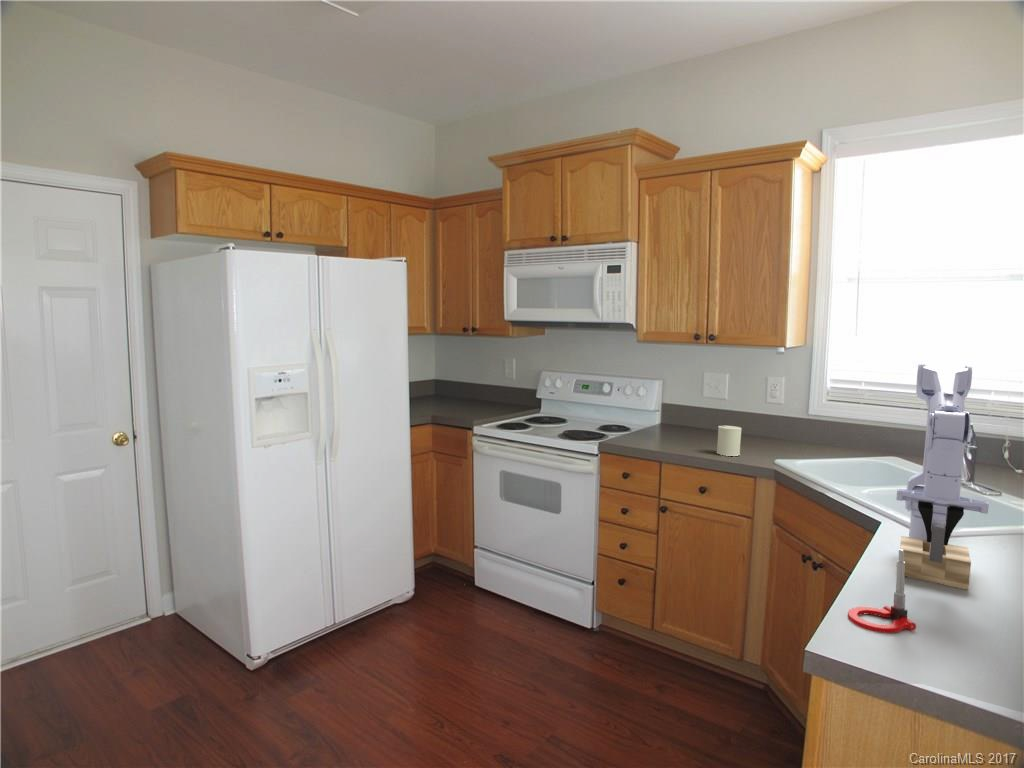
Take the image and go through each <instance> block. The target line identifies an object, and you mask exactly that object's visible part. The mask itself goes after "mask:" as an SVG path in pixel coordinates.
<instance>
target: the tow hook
mask: <svg viewBox="0 0 1024 768" xmlns="http://www.w3.org/2000/svg"><path fill="white" fill-rule="evenodd" d="M895 577H896V578H895V579H896V580H895V581H896V582H895V592H894V594H893V605H890V607H889V606H888V605H884V607H882V608H877V607H871V606H856V607H851V608H850V609H849V610H848V611H847V618H848V620H849V621H850V622H851V623H853V624H854V625H856V626H858V627H859V628H862V627H863V629H865V630H869V631H873V632H876V631H877V633H887V634H888V633H889V634H891V633H893V634H894V633H899V632H901V631H903V630H905V629H906V630H908V631H911V630H913V631H915V630H916V628H917V624H916V623H915V622H913V621H911V619H909V618H908V609H907V608H906V594H905V562H904V550H902V549H900V548H899V549H898V560H897V561H896V576H895ZM864 613H868V614H867V615H872V614H876V615H875V616H878V615H880V616H879V617H881V616H883V617H882V618H891V620H893V623H890V624H879V623H874V622H873V623H872V622H870V621H867V620H864V619H863V618H861V617H860V616H861V615H860V614H862V615H865V614H864ZM858 615H859V616H858Z"/></svg>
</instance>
